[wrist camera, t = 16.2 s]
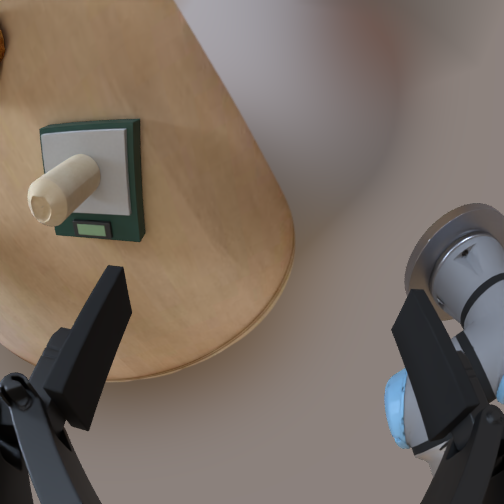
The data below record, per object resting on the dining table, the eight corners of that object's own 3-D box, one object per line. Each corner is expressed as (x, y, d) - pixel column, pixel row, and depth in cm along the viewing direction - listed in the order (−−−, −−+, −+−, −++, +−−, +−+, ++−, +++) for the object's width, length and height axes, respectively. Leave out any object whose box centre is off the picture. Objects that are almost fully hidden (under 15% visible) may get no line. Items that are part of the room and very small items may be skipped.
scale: (140, 118, 34) (130, 123, 31) (145, 233, 43) (138, 245, 40) (48, 124, 34) (35, 130, 31) (63, 227, 42) (53, 238, 40)
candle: (60, 159, 33) (13, 190, 25) (94, 148, 33) (49, 178, 24) (72, 197, 36) (31, 236, 28) (106, 189, 36) (67, 229, 27)
